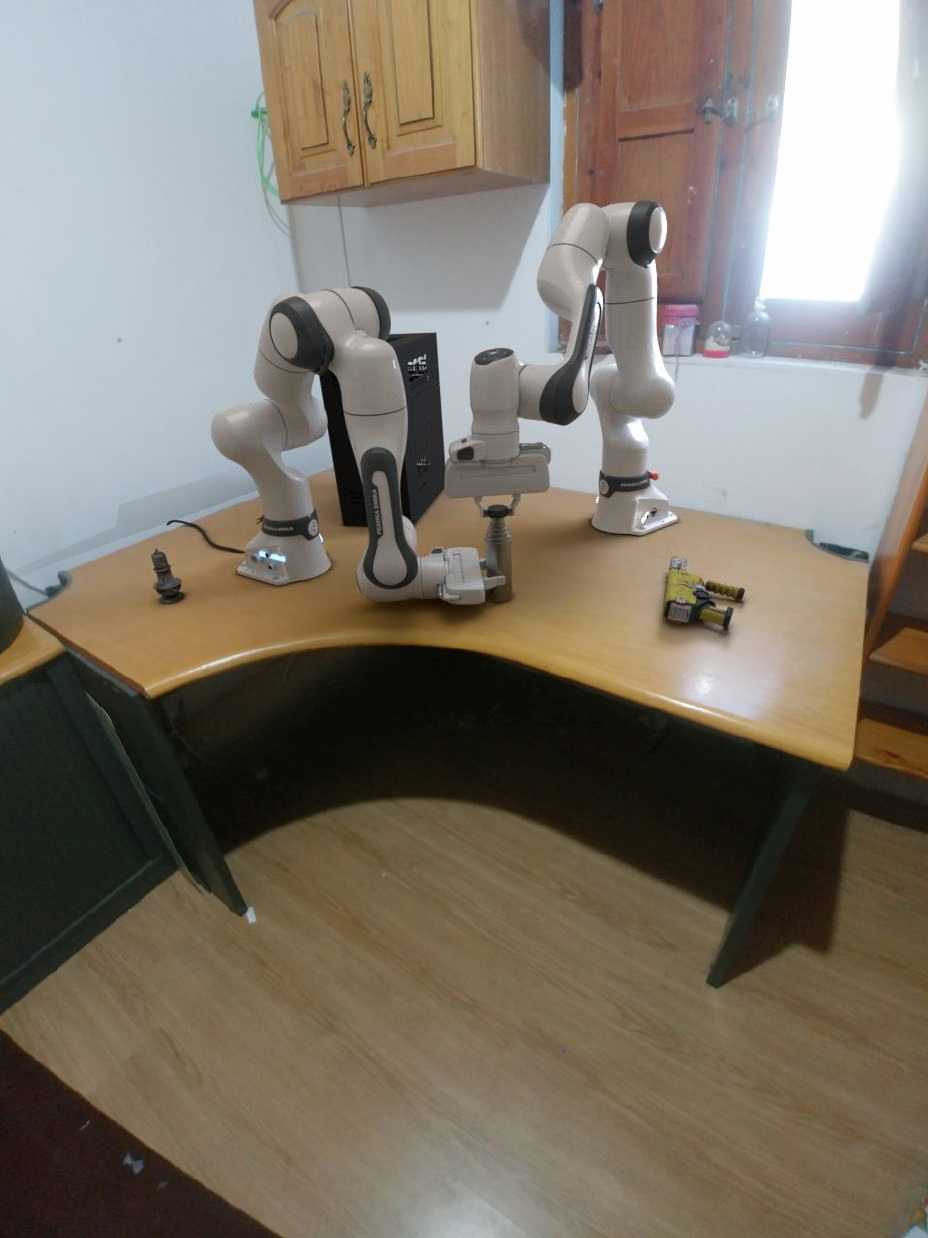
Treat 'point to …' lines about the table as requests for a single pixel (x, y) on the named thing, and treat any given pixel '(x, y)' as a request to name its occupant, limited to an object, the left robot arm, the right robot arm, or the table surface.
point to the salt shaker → (166, 579)
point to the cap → (497, 511)
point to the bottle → (499, 559)
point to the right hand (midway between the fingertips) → (497, 515)
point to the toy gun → (695, 597)
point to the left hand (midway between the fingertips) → (503, 572)
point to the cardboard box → (422, 433)
